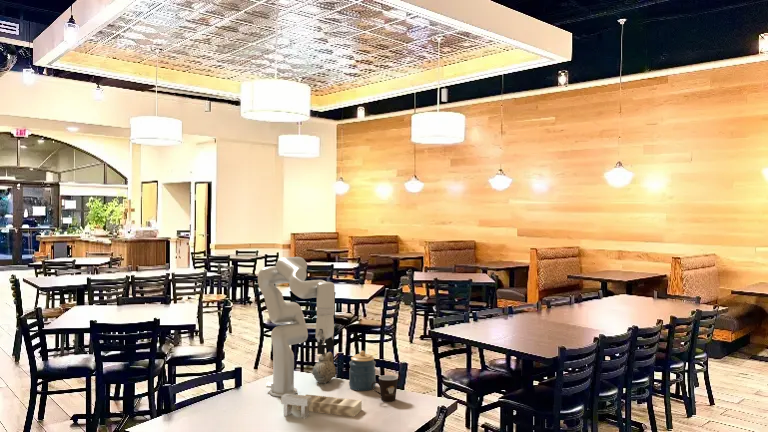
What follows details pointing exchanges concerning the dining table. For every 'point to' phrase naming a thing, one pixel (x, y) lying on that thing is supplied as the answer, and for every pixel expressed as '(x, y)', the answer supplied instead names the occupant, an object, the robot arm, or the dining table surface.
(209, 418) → the dining table surface
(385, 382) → the coffee mug
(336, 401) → the rail
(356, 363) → the canister
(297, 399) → the grey arched block
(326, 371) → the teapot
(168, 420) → the dining table surface
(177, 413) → the dining table surface
